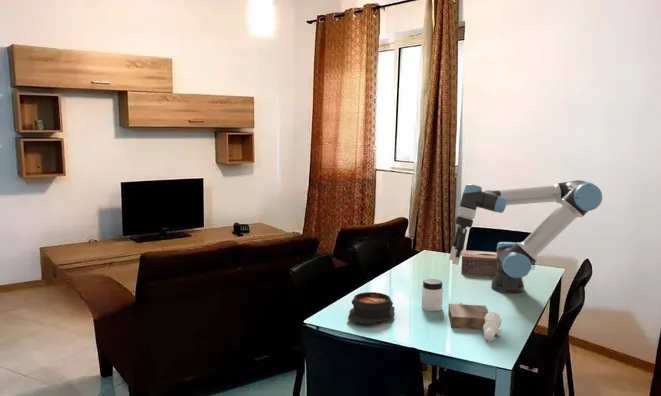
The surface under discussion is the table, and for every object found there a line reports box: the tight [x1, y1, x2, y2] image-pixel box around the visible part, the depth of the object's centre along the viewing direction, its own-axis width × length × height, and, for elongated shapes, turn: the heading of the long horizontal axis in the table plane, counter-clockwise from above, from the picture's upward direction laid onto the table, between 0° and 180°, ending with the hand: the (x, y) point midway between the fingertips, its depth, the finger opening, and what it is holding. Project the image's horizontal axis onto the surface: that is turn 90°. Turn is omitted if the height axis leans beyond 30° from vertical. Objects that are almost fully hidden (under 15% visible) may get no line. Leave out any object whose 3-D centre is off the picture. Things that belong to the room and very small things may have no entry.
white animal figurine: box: [482, 311, 502, 342], centre depth 190 cm, size 6×8×12 cm
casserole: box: [347, 291, 396, 325], centre depth 210 cm, size 25×19×8 cm
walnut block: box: [447, 303, 489, 331], centre depth 205 cm, size 15×15×5 cm
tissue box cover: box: [461, 249, 497, 277], centre depth 278 cm, size 26×14×10 cm, turn 75°
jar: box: [421, 278, 444, 312], centre depth 221 cm, size 9×8×12 cm
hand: (453, 262), depth 235 cm, fingers open, 13 cm apart
